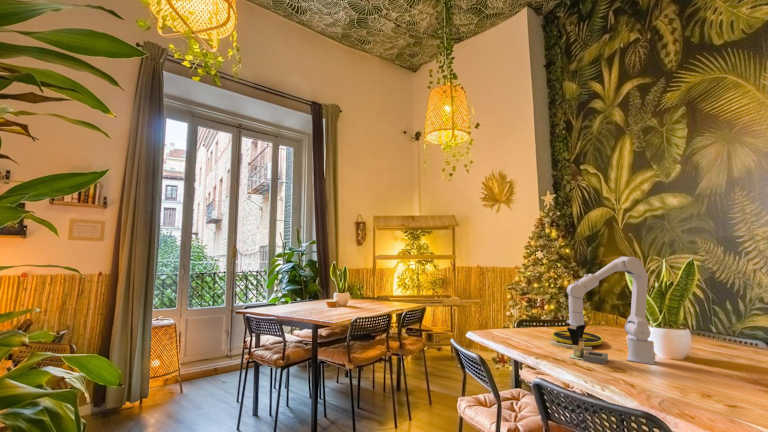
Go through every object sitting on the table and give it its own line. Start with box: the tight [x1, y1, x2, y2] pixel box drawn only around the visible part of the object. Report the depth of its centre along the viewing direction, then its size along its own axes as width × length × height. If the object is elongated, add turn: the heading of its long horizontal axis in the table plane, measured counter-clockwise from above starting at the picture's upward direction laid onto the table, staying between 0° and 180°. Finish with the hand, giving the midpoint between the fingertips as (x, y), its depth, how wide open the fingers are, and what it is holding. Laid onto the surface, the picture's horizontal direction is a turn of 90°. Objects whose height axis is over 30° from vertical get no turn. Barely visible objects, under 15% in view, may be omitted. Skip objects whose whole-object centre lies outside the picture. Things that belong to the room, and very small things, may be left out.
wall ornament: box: [549, 329, 604, 352], centre depth 194 cm, size 23×5×30 cm
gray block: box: [582, 350, 609, 365], centre depth 164 cm, size 8×9×2 cm
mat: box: [568, 353, 583, 361], centre depth 168 cm, size 5×7×1 cm
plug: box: [573, 337, 585, 358], centre depth 168 cm, size 4×4×8 cm
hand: (577, 343), depth 169 cm, fingers open, 7 cm apart
